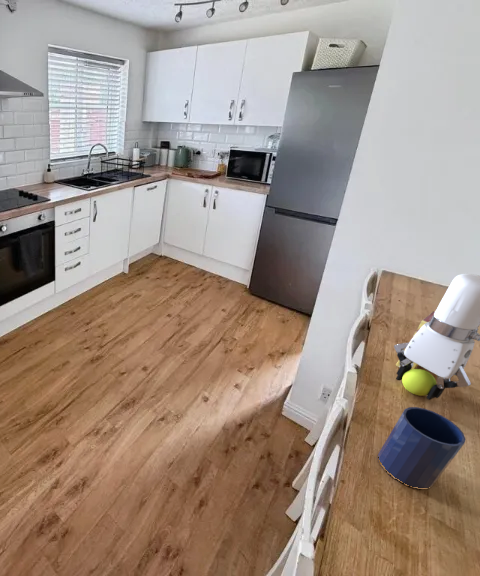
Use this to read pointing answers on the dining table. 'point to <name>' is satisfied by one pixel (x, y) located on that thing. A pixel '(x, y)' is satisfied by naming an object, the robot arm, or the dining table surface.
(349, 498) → the dining table surface
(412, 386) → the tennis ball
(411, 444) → the blue round container
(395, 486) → the dining table surface
